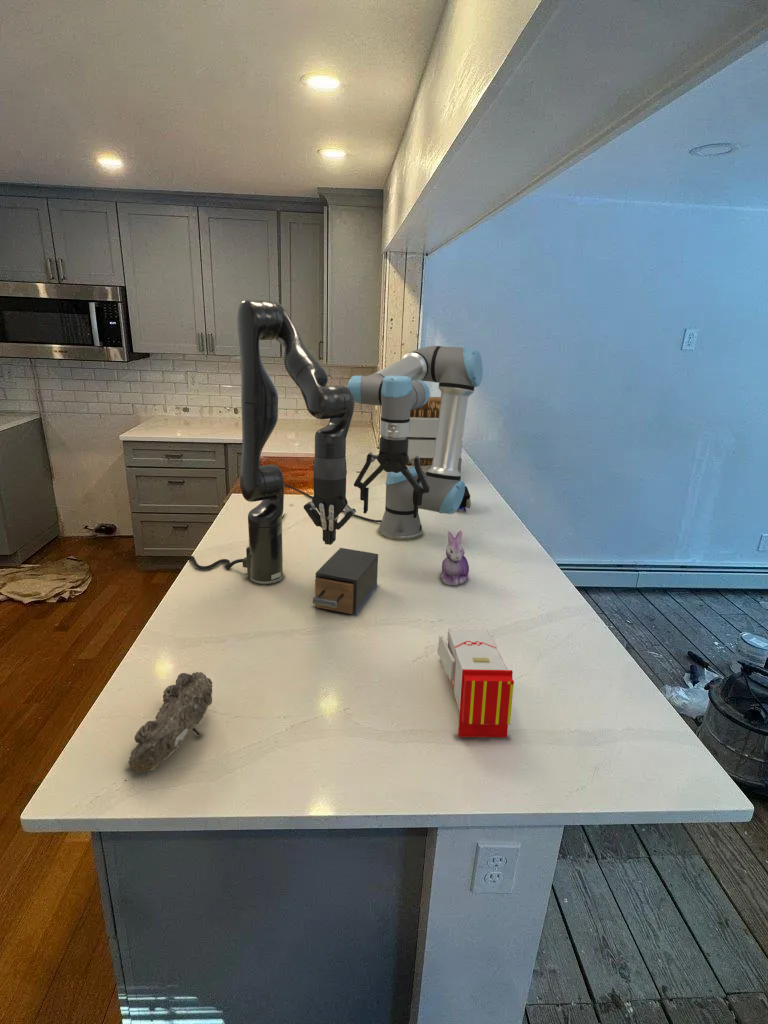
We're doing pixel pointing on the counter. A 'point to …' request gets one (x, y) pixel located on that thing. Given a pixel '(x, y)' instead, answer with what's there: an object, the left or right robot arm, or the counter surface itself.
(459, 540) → the figurine
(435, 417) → the slatted crate
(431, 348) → the right robot arm
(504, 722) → the toy
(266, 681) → the counter surface
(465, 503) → the figurine character
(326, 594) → the drawer
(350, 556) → the cabinet
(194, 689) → the fossil
